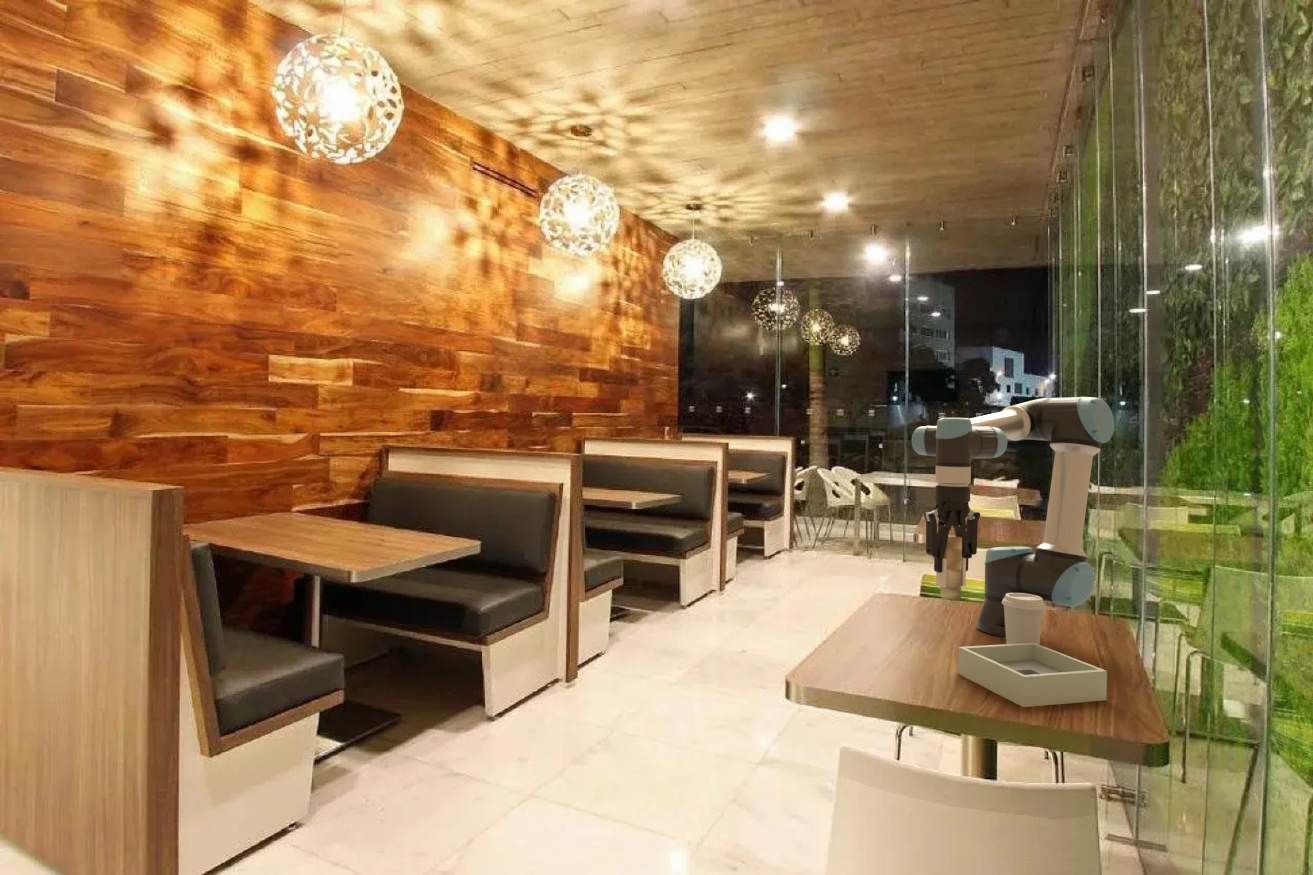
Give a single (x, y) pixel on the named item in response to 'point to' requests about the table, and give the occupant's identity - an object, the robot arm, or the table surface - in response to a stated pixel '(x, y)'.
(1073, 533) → the robot arm
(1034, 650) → the grey-green open tray
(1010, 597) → the coffee cup
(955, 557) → the peg
